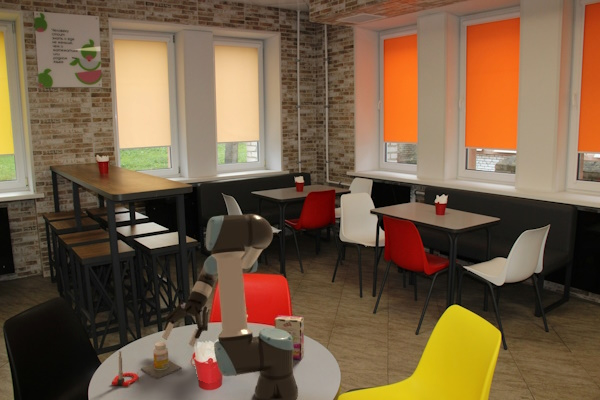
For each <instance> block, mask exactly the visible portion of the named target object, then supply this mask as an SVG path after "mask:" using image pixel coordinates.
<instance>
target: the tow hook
mask: <svg viewBox="0 0 600 400" xmlns="http://www.w3.org/2000/svg"><path fill="white" fill-rule="evenodd" d="M125 377H131V379H128V380H126V381H125ZM138 380H139V375H138V374H137V373H134V372H123V357H122V351H120V350H119V351H118V374H117V375H116V376H114V379H113V380H112V381H111V385H112V386H118V387H120V386H121V387H130V386H131V384H133V383H135V382H137V381H138Z"/></svg>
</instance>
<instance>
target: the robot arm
mask: <svg viewBox="0 0 600 400" xmlns="http://www.w3.org/2000/svg"><path fill="white" fill-rule="evenodd" d="M205 234H206V235H205V245H206V246H205V247H206V250H207V251H209V252H210V253H211V254H210V256H208V257H207V258H206V260H205V261H204V263H203V267H202V268H201V271H200V273H199V276H198V278H197V280H196V281H195V284H194V285H193V288H192V289H191V292H190V293H189V296H188V298H187V302H183V301H182V300H181V301H179V304H178V305H176V307H175V308H174V309H173V310H172V311H171V312H170V313H169V314H168V315H167V316H166V317H164V318H165V319H164V320H165V321H166V322H167V323H166V325H165V327H164V332H163V334H162V336H161V337H162V338H163V339H164V340H165V341H166V340H168V338H169V336H170V334H171V332H172V330H173V328H174V327H175V325H174V324H175V323H177V322H178V321H179V320H182V319H183V318H184V317H186V316H192V317H194V318H195V322H196V327H197V328H195V330H194V331H193V334H192V336H191V338H190V340H189V342H188V345H190V347H192V348H193V347H195V344H196V342H197V340H198V339H200V338H201V335H202V333H203V332H207V331H208V328H209V312H210V309H209V307H207V306H206V304H207V302H208V298H210V295H211V293H212V292H213V288H214V287H215V284H216V282H217V281H218V283H217V284H218V293H219V294H218V295H219V307H220V317H221V319H220V320H221V331H220V333H219V334H218V336H217V338H218V340H217V341H215V342H214V345H213V347H214V348H213V349H214V356H215V361H216V364H217V367H218V370H219V372H220V374H221V375H222V376H224V377H231V376H235V377H237V376H239V375H246V374H251V373H259V376H258V379H257V382H256V385H255V388H254V397H255V399H256V400H297V398H298V396H299V387H298V385H297V382H296V378H295V375H294V359H293V349H294V347H293V338H292V336H291V335H290V334H289V333H288V332H286V331H284V330H281V329H276V328H275V327H274V328H273V327H272V328H271V327H268V328H263V329H262V330H260V331H259V333H258V336H254V334H253V331H252V330H251V329H250V328H249V327H248V320H247V319H248V317H247V316H246V315H247V310H246V308H247V307H246V295H245V285H244V275H243V274H250V273H255V272H257V270H258V265H259V264H258V258H259V256H260V255H261V253H262V251H264V249H266V248H268V246H270V244H271V242H272V241H273V237H274V231H273V228H272V226H271V224H270V223H269V221H268V220H266V219H265V217H262V216H260V215H258V214H254V213H247V214H224V215H218V216H217V215H216V216H212V217H211V218H210V219H208V221H207V226H206V233H205ZM201 312H202V314H201Z"/></svg>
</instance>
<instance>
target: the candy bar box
mask: <svg viewBox="0 0 600 400" xmlns="http://www.w3.org/2000/svg"><path fill="white" fill-rule="evenodd" d="M304 321H305V319H304V316H294V315H293V316H292V315H282V314H281V315H279V314H278V315H277V316H276V317H275V318H274V328H276V329H281V330H284V331H286V332H288V333H289V334H290V335H291V336H292V338H293V347H294V349H293V360H297V361H298V360H299V361H301V360H302V359H303V357H304V354H305V335H304V334H305V329H304V328H305V326H304V325H305V324H304Z"/></svg>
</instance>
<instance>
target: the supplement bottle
mask: <svg viewBox="0 0 600 400" xmlns="http://www.w3.org/2000/svg"><path fill="white" fill-rule="evenodd" d="M168 360H169V350H168V348H167V343H166V342H165V341H158V342H156V343H155V344H154V349H153V363H154V368H155V369H156V370H165V369H167V368H168V366H169V364H168Z"/></svg>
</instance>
